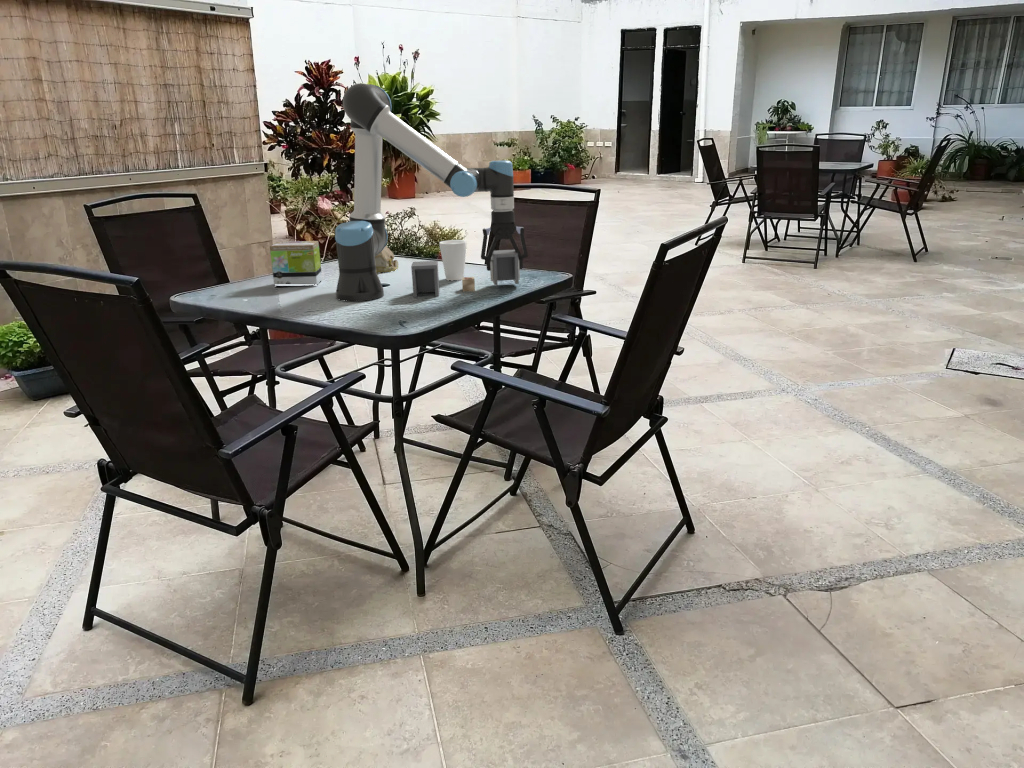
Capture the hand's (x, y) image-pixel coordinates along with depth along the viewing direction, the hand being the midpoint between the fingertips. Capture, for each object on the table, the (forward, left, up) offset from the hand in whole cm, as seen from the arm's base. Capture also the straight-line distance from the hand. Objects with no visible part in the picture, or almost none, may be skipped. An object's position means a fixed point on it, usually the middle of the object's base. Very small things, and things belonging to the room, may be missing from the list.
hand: (505, 279), depth 260 cm
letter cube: (-9, -9, -2) cm, 13 cm away
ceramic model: (-59, +14, -3) cm, 61 cm away
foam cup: (-23, +6, -2) cm, 24 cm away
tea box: (-72, -19, -3) cm, 74 cm away
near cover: (-19, -19, -2) cm, 27 cm away
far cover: (0, 0, -1) cm, 1 cm away
